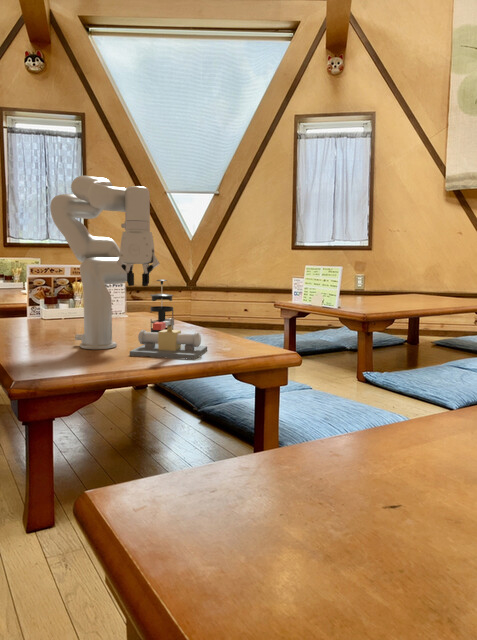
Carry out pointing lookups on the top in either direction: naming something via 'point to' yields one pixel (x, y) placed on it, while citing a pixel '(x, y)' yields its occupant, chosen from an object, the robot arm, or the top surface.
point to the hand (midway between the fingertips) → (138, 285)
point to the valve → (169, 344)
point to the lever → (163, 324)
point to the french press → (161, 307)
